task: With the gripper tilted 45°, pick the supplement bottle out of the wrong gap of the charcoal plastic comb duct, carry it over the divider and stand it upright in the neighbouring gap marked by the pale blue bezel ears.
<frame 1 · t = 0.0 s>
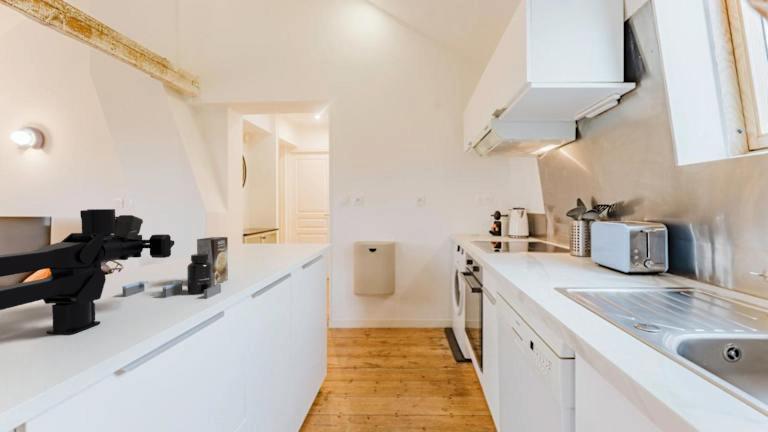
hand: (159, 242, 98), 17 cm above the worktop, tool horizontal, fingers open, 9 cm apart
comb duct: (173, 294, 101), on the worktop
coffee box: (213, 283, 117), on the worktop
supplement bottle: (200, 292, 104), on the worktop
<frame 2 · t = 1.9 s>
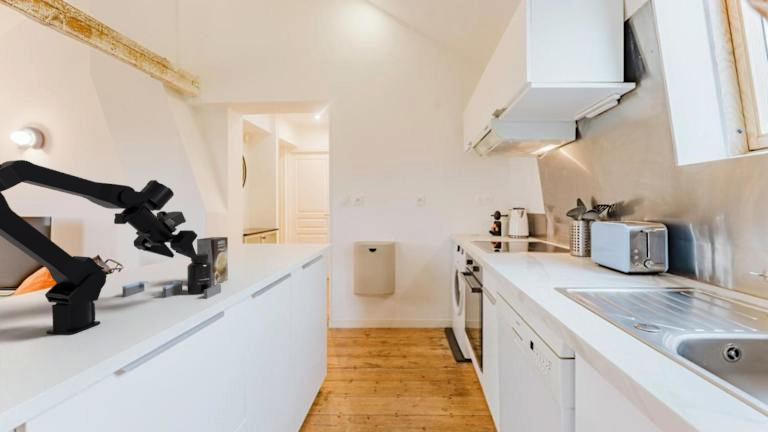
hand: (184, 257, 99), 12 cm above the worktop, tool tilted 45°, fingers open, 9 cm apart
nothing on the worktop moved.
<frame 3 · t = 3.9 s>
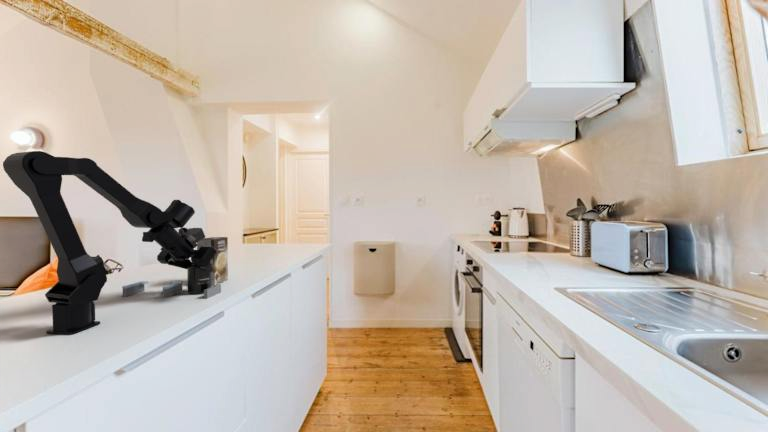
hand: (203, 270, 105), 7 cm above the worktop, tool tilted 45°, fingers closed on supplement bottle, 7 cm apart
supplement bottle: (200, 292, 104), on the worktop, touching gripper
everything else where it was.
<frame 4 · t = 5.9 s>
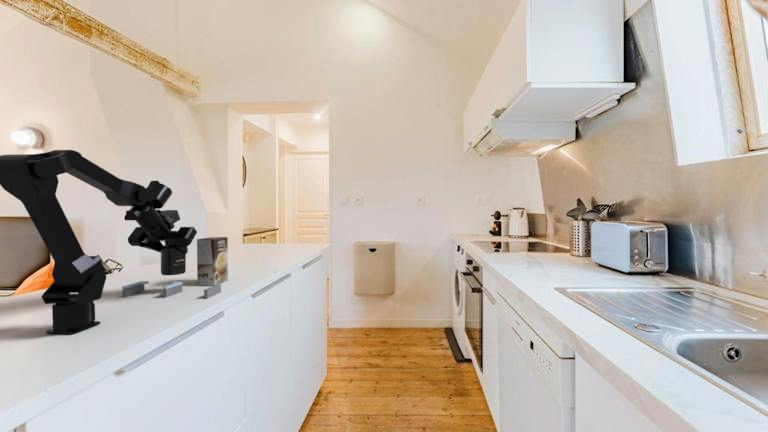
hand: (176, 252, 106), 12 cm above the worktop, tool tilted 45°, fingers closed on supplement bottle, 7 cm apart
supplement bottle: (173, 274, 105), point 5 cm above the worktop, touching gripper
everything else where it was.
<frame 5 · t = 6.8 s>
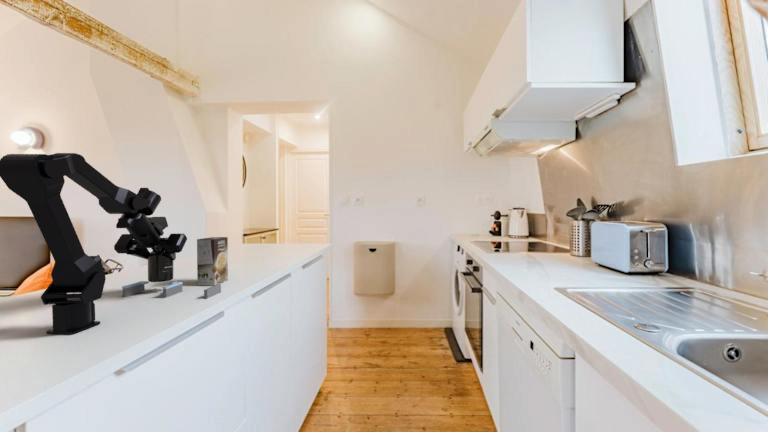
hand: (163, 259, 106), 10 cm above the worktop, tool tilted 45°, fingers closed on supplement bottle, 7 cm apart
supplement bottle: (161, 281, 105), point 3 cm above the worktop, touching gripper
everything else where it was.
when the fingers open (8 cm above the worktop, at t = 7.8 s): supplement bottle drops 1 cm, on the worktop.
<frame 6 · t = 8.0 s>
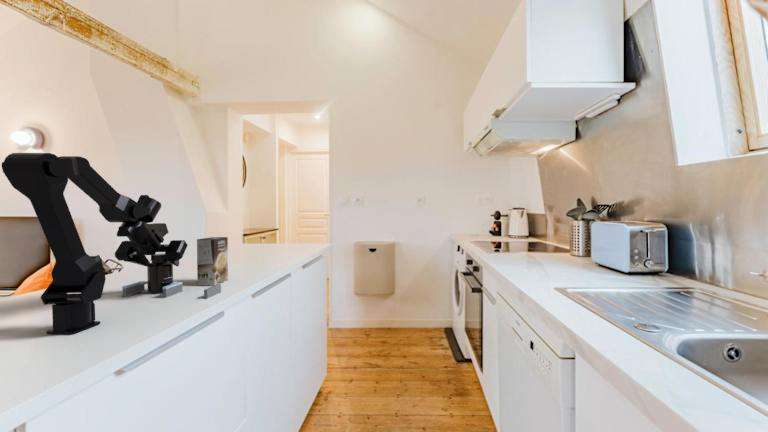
hand: (163, 265, 107), 8 cm above the worktop, tool tilted 45°, fingers open, 9 cm apart
supplement bottle: (161, 291, 105), on the worktop
everything else where it was.
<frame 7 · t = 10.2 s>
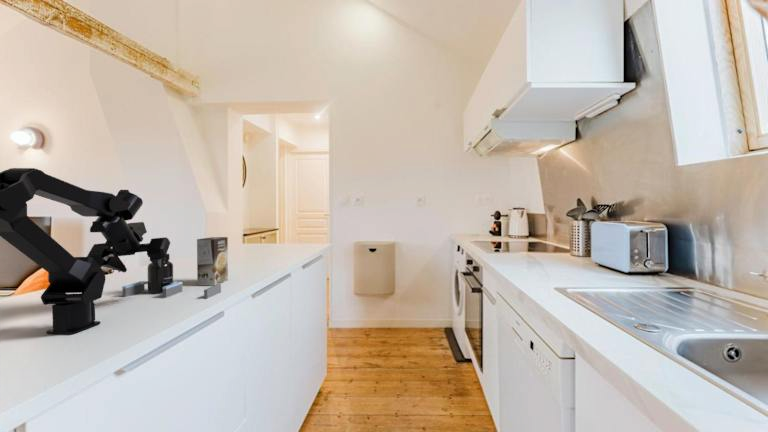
hand: (143, 269, 97), 9 cm above the worktop, tool tilted 40°, fingers open, 9 cm apart
nothing on the worktop moved.
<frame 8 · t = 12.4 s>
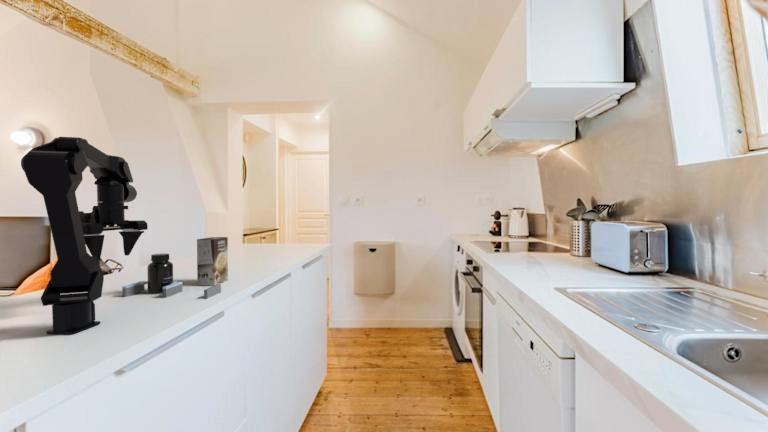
hand: (112, 257, 91), 13 cm above the worktop, tool pointing down, fingers open, 9 cm apart
nothing on the worktop moved.
at the end: supplement bottle inside the target area (0.3 cm from its centre), on the worktop; supplement bottle tilted 0°; the gripper is holding nothing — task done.
